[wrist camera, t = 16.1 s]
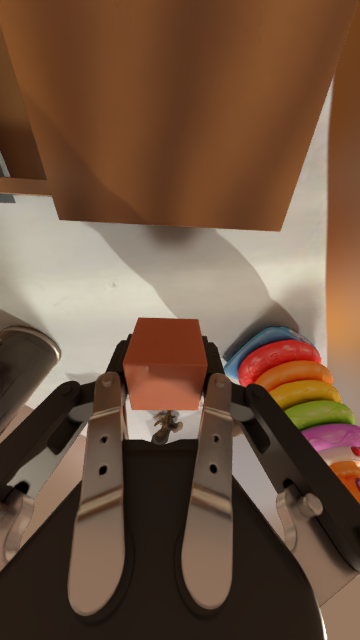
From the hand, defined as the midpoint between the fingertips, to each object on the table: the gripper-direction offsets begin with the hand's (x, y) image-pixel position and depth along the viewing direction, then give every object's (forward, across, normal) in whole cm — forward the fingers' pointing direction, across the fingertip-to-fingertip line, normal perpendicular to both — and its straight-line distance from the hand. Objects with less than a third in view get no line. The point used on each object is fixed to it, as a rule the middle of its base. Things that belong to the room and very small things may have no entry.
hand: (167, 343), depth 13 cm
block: (0, 0, 0) cm, 0 cm away
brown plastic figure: (+12, 0, +35) cm, 37 cm away
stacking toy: (+12, -18, +12) cm, 25 cm away
